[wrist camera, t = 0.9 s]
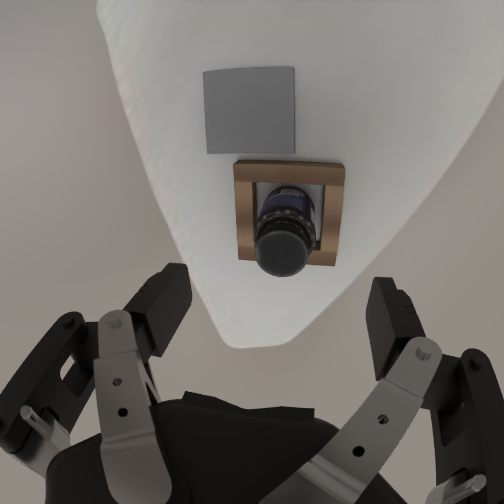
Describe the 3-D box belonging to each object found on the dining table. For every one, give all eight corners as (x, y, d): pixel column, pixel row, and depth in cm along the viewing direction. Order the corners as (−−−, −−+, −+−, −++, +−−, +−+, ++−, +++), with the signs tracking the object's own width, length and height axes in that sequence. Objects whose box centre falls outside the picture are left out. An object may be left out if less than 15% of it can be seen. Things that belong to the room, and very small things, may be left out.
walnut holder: (238, 160, 31) (233, 164, 29) (342, 164, 29) (345, 168, 27) (242, 250, 37) (238, 259, 35) (333, 256, 35) (334, 266, 33)
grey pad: (205, 72, 26) (203, 72, 26) (293, 67, 25) (293, 66, 24) (209, 152, 31) (207, 153, 31) (294, 152, 29) (294, 153, 29)
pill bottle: (254, 210, 34) (231, 254, 25) (286, 174, 31) (276, 206, 22) (291, 241, 35) (283, 295, 26) (325, 209, 32) (331, 254, 23)
